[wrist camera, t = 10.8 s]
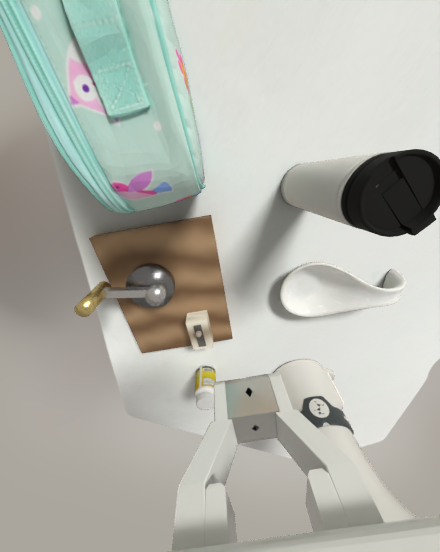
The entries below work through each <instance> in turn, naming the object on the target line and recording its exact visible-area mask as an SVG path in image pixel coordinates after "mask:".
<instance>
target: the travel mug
mask: <svg viewBox="0 0 440 552" xmlns="http://www.w3.org/2000/svg"><path fill="white" fill-rule="evenodd" d="M281 194H282V197H283V199H284V200H285V201H286V202H287V203H288V204H290V205H292V206H295V207H298V208H301V209H303V210H306V211H309V212H312V213H315V214H318V215H321V216H324V217H326V218H329V219H332V220H335V221H338V222H341V223H344V224H346V225H349V226H352V227H355V228H358V229H363V230H366V231H369V232H372V233H375V234H378V235H381V236H387V237H393V236H400V235H403V234H406V233H408V234H410V235H414V236H415V235H416V234H418V233H419V232H420V231H422V230H423V229H425V228H426V227H427V226H429V225H430V224H431V223H433V222H434V221H435V220H436V218H435V216H434V213H435V211H436V210H437V209H438V207H439V206H440V159H439V158H438V157H437V156H436V155H434V154H433V153H431V152H428V151H426V150H419V149H413V150H405V151H397V152H384V153H377V154H369V155H362V156H354V157H347V158H340V159H332V160H325V161H318V162H310V163H303V164H298V165H295V166H294V167H292V168H291V169H289V170H288V171H287V173H286V174H285V176H284V177H283V180H282V183H281Z"/></svg>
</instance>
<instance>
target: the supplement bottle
mask: <svg viewBox="0 0 440 552" xmlns="http://www.w3.org/2000/svg"><path fill="white" fill-rule="evenodd" d="M214 382H216V377H215V369H214V368H213V367H212V366H210V365H202V366H200V367H198V368H197V370H196V384H195V396H196V405H197V407H198V408H199V409H201V410H209V409H211V408H213V407H214Z"/></svg>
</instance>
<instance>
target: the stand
mask: <svg viewBox="0 0 440 552" xmlns="http://www.w3.org/2000/svg"><path fill="white" fill-rule="evenodd" d="M89 239H90V241H91V243H92V245H93V248H94V250H95V252H96V254H97V256H98V258H99V261H100V263H101V265H102V267H103V269H104V271H105V274H106V276H107V278H108V280H109V282H110V284H111V287H126V281H127V279H128V277H129V275H130V274H131V273H132V272H133V270H134V269H135V268H136V267H138V266H140V265H142V264H146V263H154V264H158V265H161V266H163V267H165V268H166V269H167V270H168V271H170V273H171V274H172V275H173V277H174V280H175V290H174V293H173V296H172V298H171V300H170V301H169V302H168V303H167V304H166V305H164V306H162V307H159V308H146V307H143V306H140V305H138V304H137V303H135V302H134V301H133V300H132V299H131V298H117V300H118V302H119V304H120V306H121V308H122V310H123V313H124V315H125V317H126V319H127V321H128V324H129V326H130V328H131V330H132V332H133V334H134V337H135V339H136V341H137V343H138V345H139V347H140V350H141V352H142V353H146V352H152V351H159V350H165V349H171V348H178V347H184V346H190V345H192V346H193V349H194V350H198V349H205V348H211V347H213V342H215V341H222V340H228V339H232V332H231V326H230V321H229V315H228V309H227V304H226V298H225V292H224V286H223V281H222V275H221V269H220V264H219V258H218V252H217V247H216V241H215V235H214V229H213V224H212V218H211V215H208V216H203V217H197V218H191V219H185V220H180V221H174V222H168V223H162V224H157V225H151V226H145V227H140V228H134V229H128V230H122V231H117V232H111V233H105V234H99V235H95V236H93V237H91V238H89Z"/></svg>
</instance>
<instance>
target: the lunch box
mask: <svg viewBox="0 0 440 552" xmlns="http://www.w3.org/2000/svg"><path fill="white" fill-rule="evenodd" d="M0 27H1V29H2V32H3V34H4V36H5V39H6V41H7V44H8V46H9V49H10V51H11V53H12V56H13V58H14V60H15V63H16V65H17V68H18V70H19V73H20V75H21V77H22V80H23V82H24V84H25V86H26V88H27V91H28V93H29V95H30V97H31V100H32V102H33V104H34V106H35V108H36V111H37V113H38V115H39V117H40V119H41V121H42V123H43V125H44V126H45V128H46V130H47V132H48V134H49V136H50V137H51V139H52V141H53V142H54V144H55V146H56V148H57V149H58V151H59V153H60V154H61V156H62V157H63V158H64V160H65V161H66V163H67V164H68V165H69V167H70V168H71V170H72V171H73V172H74V173H75V175H76V176H77V177H78V178H79V180H80V181H81V182H82V183H83V185H84V186H85V187H86V188H87V189H88V190H89V191H90V192H91V194H92V195H93V196H94V197H95V198H96V199H97V200H98V201H99V202H100V203H101V204H102V205H103V206H104V207H106V208H107V209H108V210H110V211H112V212H119V213H132V212H135V211H142V210H148V209H152V208H156V207H160V206H164V205H168V204H171V203H174V202H177V201H180V200H183V199H186V198H189V197H192V196H195V195H198V194H199V193H200V192H201V190H202V189H203V188H205V185H204V184H203V183H204V180H205V176H204V169H203V161H202V154H201V146H200V140H199V134H198V130H197V126H196V120H195V115H194V109H193V104H192V98H191V93H190V88H189V83H188V78H187V74H186V69H185V64H184V60H183V56H182V51H181V47H180V44H179V40H178V37H177V33H176V30H175V26H174V23H173V19H172V15H171V11H170V7H169V2H168V0H0Z"/></svg>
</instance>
